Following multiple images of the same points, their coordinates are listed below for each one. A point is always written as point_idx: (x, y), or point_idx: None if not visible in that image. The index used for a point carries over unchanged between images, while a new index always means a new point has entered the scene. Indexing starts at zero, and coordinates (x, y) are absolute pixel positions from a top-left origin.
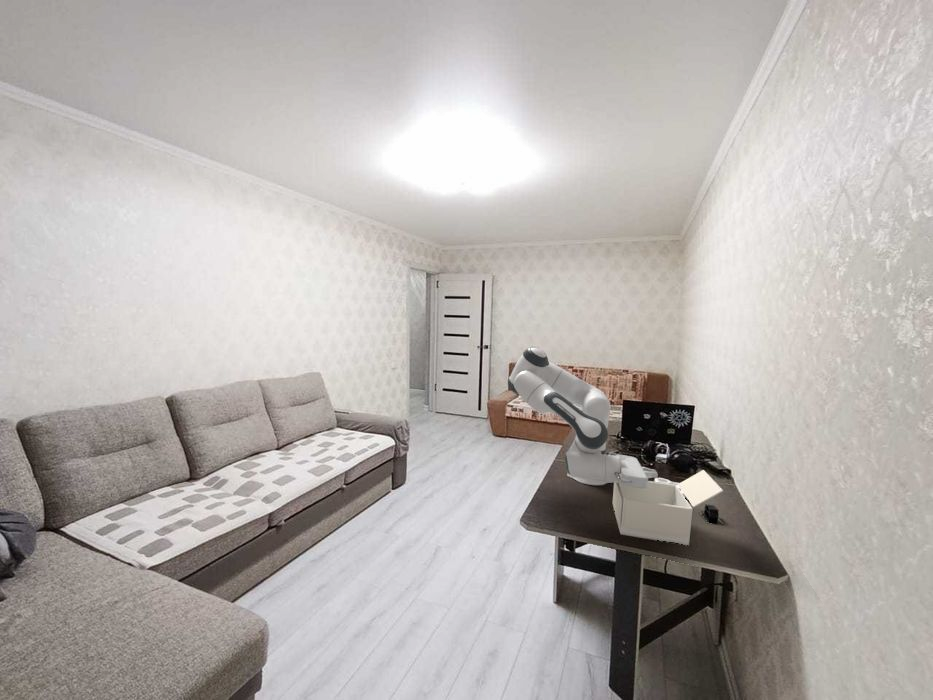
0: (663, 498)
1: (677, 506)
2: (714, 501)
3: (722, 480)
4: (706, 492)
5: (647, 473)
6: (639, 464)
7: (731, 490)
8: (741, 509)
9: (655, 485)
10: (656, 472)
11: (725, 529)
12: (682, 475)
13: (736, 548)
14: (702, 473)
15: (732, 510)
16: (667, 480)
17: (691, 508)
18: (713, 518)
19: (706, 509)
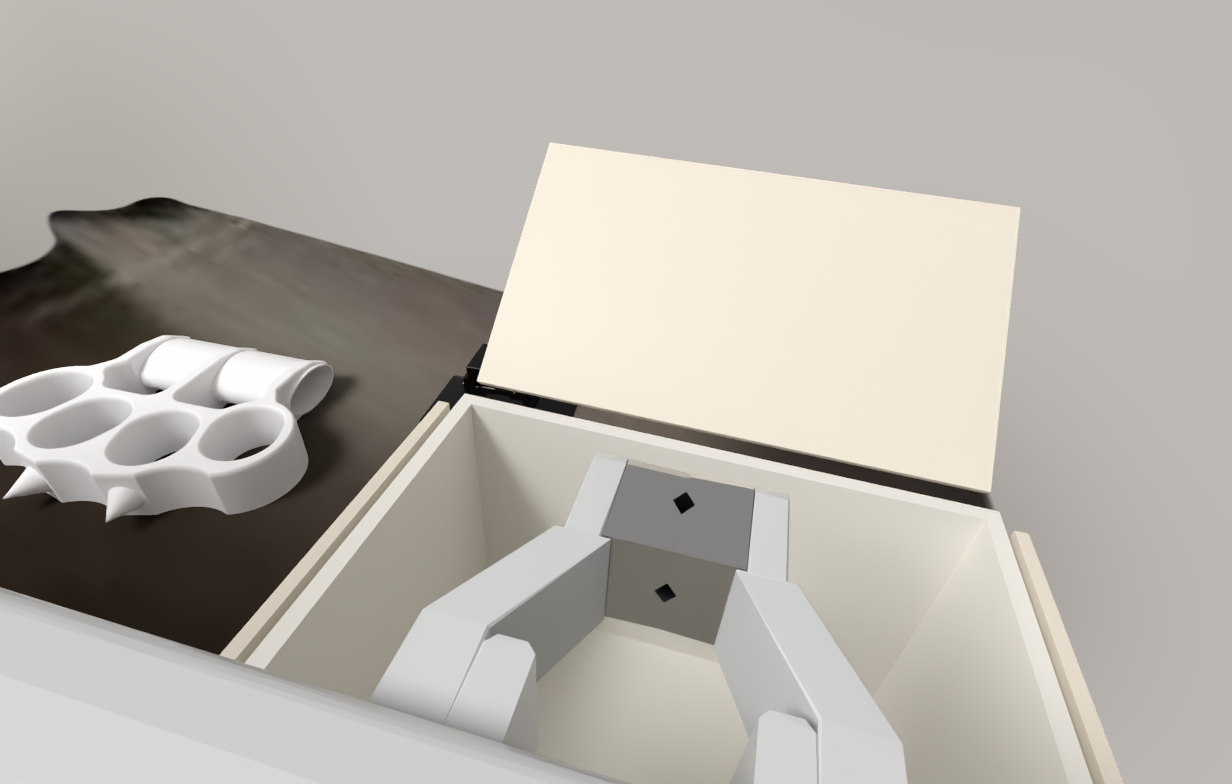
0: (441, 572)
1: (1038, 630)
2: (354, 321)
3: (202, 223)
4: (901, 300)
5: (882, 750)
6: (320, 721)
7: (292, 241)
8: (448, 289)
9: (371, 560)
10: (768, 493)
11: (619, 414)
12: (42, 291)
13: (799, 465)
14: (591, 173)
15: (450, 313)
16: (64, 373)
17: (999, 517)
18: (533, 404)
19: (485, 387)
